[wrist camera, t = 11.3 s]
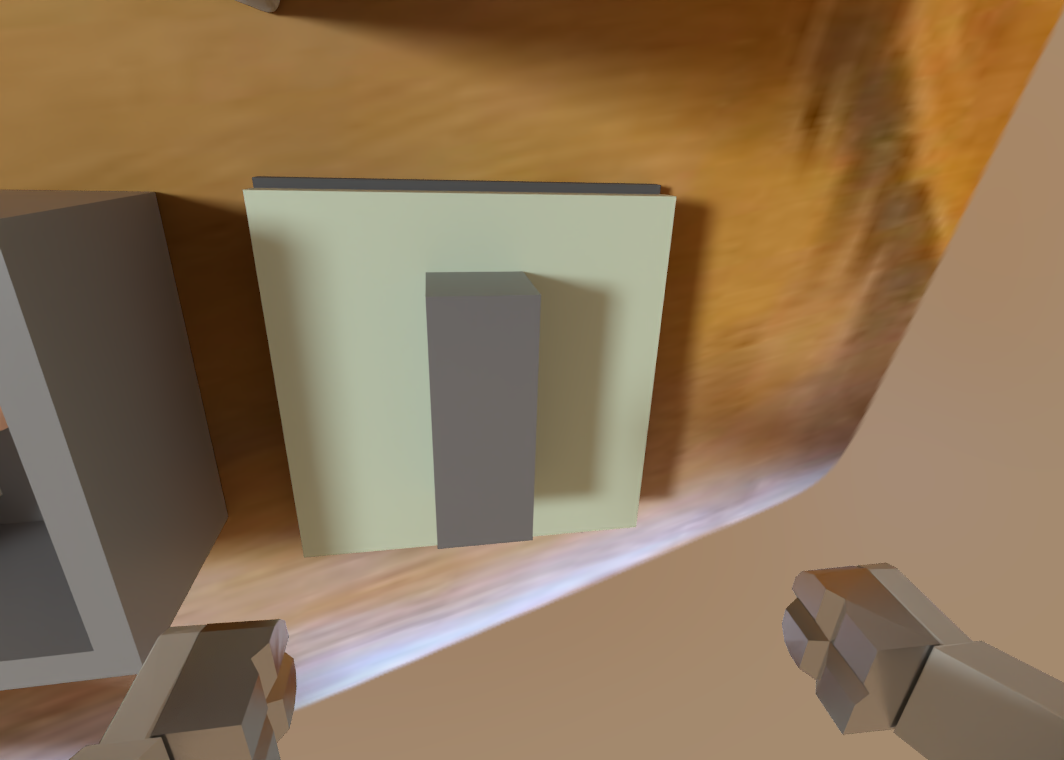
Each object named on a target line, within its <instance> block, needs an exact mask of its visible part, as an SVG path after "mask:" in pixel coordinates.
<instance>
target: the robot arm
mask: <svg viewBox="0 0 1064 760" xmlns="http://www.w3.org/2000/svg"><path fill="white" fill-rule="evenodd" d="M792 590H793V591H794V593H795V595H796V596H797V599H795V600H794V602H792V603H791V604H790V605H789V606H788V607H787V608H786V610H785V614H784V618H783V622H782V627H783V634H784V640H785V643H786V646H787V648H788V651H789V653H790V655H791V657H792V658H793V660H794V661H795V663H796V665H797V666H798V668H799V669H800V670H802V671H803V672H805V673H806V674H808V675H809V676H811V677H812V678H814V679H815V680H816V695H817V697H818V698H819V699H820V701H821V703H822V704H823V705H824V707H825V709H826V710H827V711H828V713H829V715H830V716H831V718H832V719H833V720H834V722H835V723H836V725H837V727H838V728H839V730H840V731H841V733H842V734H843V735H844V734H854V733H862V732H871V731H882V730H891V729H895V730H894V733H895V734H896V735H897V736H899V737H900V738H901V739H902V740H904V741H905V742H906V743H907V744H909V745H910V746H911V747H913V748H914V749H915V750H916V751H918V752H919V753H920V754H921V755H923V756H924V757H925V758H927V759H928V760H1064V683H1063V682H1062V681H1060V680H1058V679H1056V678H1054V677H1052V676H1050V675H1048V674H1046V673H1044V672H1042V671H1040V670H1038V669H1036V668H1034V667H1032V666H1030V665H1028V664H1026V663H1024V662H1022V661H1020V660H1018V659H1016V658H1014V657H1012V656H1010V655H1009V654H1007V653H1005V652H1003V651H1001V650H999V649H997V648H995V647H993V646H991V645H989V644H987V643H985V642H983V641H974V642H973V641H972V640H971V639H970V638H969V637H968V636H967V635H966V634H964V632H963V631H961V630H960V629H959V628H958V627H957V626H956V625H955V624H954V623H953V622H952V621H951V620H950V619H949V618H948V617H947V616H946V615H945V614H944V613H943V612H942V611H941V610H940V609H939V608H938V607H937V606H936V605H935V604H933V603H932V602H931V601H930V600H929V599H928V598H927V597H926V596H925V595H924V594H923V593H922V592H921V591H920V590H919V589H918V588H917V587H916V586H915V585H914V584H913V583H912V582H910V580H909V579H908V578H907V577H906V576H904V575H903V574H902V573H901V572H900V571H899V570H898V569H897V568H896V567H894V566H892V565H890V564H888V563H879V564H869V565H858V566H847V567H837V568H829V569H828V568H827V569H818V570H808V571H802V572H801V573H800V574H799V575H798V576H796V578H795V581H794V584H793V587H792ZM288 638H289V635H288V631H287V627H286V623H285V620H281V619H275V620H259V621H244V622H229V623H214V624H207V625H193V626H178V627H169V628H168V629H167V630H166V631H164V632H163V633H162V634H161V635H160V636H159V637H158V639H157V640H156V642H155V644H154V646H153V648H152V649H151V651H150V653H149V655H148V657H147V658H146V660H145V662H144V664H143V666H142V667H141V669H140V671H139V673H138V675H137V676H136V678H135V680H134V682H133V684H132V685H131V687H130V689H129V691H128V693H127V694H126V696H125V698H124V700H123V702H122V703H121V705H120V707H119V709H118V711H117V712H116V714H115V716H114V718H113V720H112V721H111V723H110V725H109V727H108V729H107V730H106V732H105V734H104V736H103V738H102V739H101V741H100V743H99V744H95V745H88V746H85V747H84V748H82V749H81V750H80V751H79V752H78V753H76V754H75V755H74V756H73V757H72V758H70V759H69V760H280V756H279V752H278V747H277V742H278V741H279V740H280V739H281V738H282V737H283V736H284V734H285V733H286V732H287V731H288V730H289V728H290V724H291V719H292V715H293V711H294V704H295V695H296V669H295V664H294V659H293V658H292V657H291V656H289V655H288V654H287V653H285V649H286V645H287V642H288Z"/></svg>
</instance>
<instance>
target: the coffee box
mask: <svg viewBox="0 0 1064 760" xmlns="http://www.w3.org/2000/svg"><path fill="white" fill-rule="evenodd" d="M236 1H238V2H241V3H244V4H246V5H249V6H252V7H254V8H257V9H259V10H262V11H266V12H274V11H275V10H276V9H277V8H278V6H279V2H280V0H236Z"/></svg>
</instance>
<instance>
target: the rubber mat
mask: <svg viewBox="0 0 1064 760" xmlns="http://www.w3.org/2000/svg"><path fill="white" fill-rule="evenodd" d="M252 180H253V186H254V188H291V189H354V190H416V191H479V192H542V193H605V194H660V188H661V185H657V184H627V183H575V182H523V181H470V180H418V179H366V178H313V177H261V176H257V177H252Z"/></svg>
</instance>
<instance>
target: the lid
mask: <svg viewBox="0 0 1064 760" xmlns="http://www.w3.org/2000/svg"><path fill="white" fill-rule="evenodd" d="M243 193H244V199H245V205H246V211H247V217H248V223H249V230H250V236H251V242H252V248H253V254H254V260H255V266H256V272H257V278H258V284H259V290H260V296H261V302H262V308H263V314H264V320H265V326H266V332H267V338H268V344H269V350H270V356H271V362H272V368H273V374H274V380H275V386H276V392H277V398H278V404H279V410H280V416H281V422H282V428H283V434H284V440H285V446H286V452H287V458H288V464H289V470H290V476H291V482H292V488H293V494H294V500H295V506H296V512H297V518H298V524H299V530H300V536H301V542H302V548H303V554H304V557H315V556H326V555H337V554H348V553H359V552H369V551H380V550H391V549H402V548H413V547H424V546H435V545H437V546H438V549H442V548H453V547H464V546H475V545H485V544H496V543H507V542H518V541H528V540H533V536H543V535H554V534H565V533H576V532H587V531H598V530H609V529H620V528H630V527H636V522H637V514H638V506H639V498H640V489H641V481H642V473H643V465H644V457H645V449H646V440H647V432H648V424H649V416H650V408H651V400H652V392H653V383H654V375H655V367H656V359H657V351H658V343H659V334H660V326H661V318H662V310H663V302H664V294H665V285H666V277H667V269H668V261H669V253H670V245H671V237H672V228H673V220H674V212H675V204H676V196H671V195H666V194H605V193H542V192H479V191H416V190H354V189H291V188H249V189H245V190H243Z"/></svg>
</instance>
